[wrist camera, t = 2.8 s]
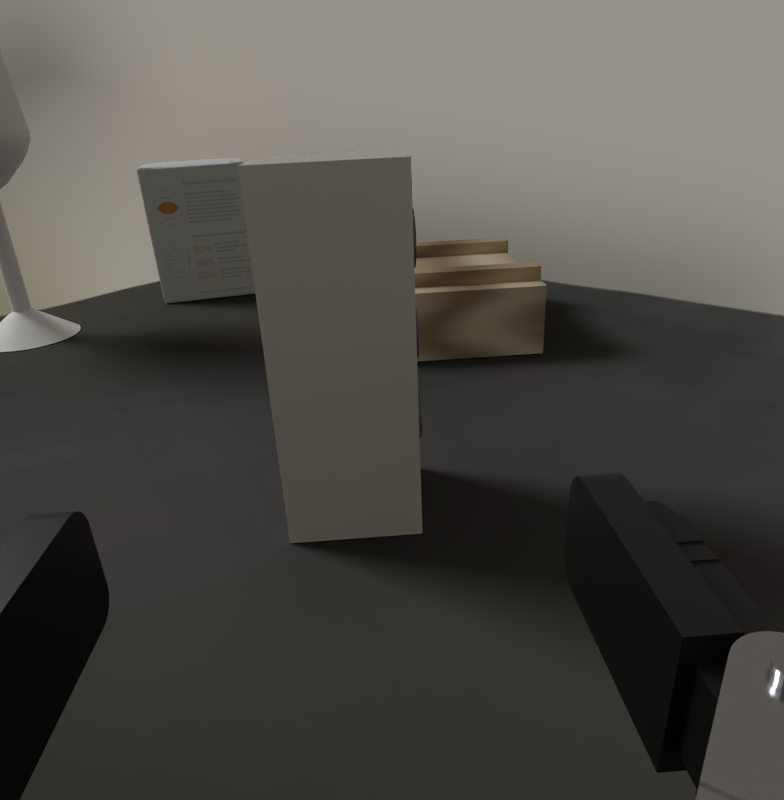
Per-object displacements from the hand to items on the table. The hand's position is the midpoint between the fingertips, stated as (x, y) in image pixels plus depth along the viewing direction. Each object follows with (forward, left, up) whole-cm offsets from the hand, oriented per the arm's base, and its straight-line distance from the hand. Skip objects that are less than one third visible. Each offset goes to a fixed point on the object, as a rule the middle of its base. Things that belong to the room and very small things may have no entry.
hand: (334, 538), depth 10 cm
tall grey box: (0, +11, -7) cm, 13 cm away
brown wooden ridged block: (+6, +31, -7) cm, 32 cm away
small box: (-12, +45, -7) cm, 47 cm away
